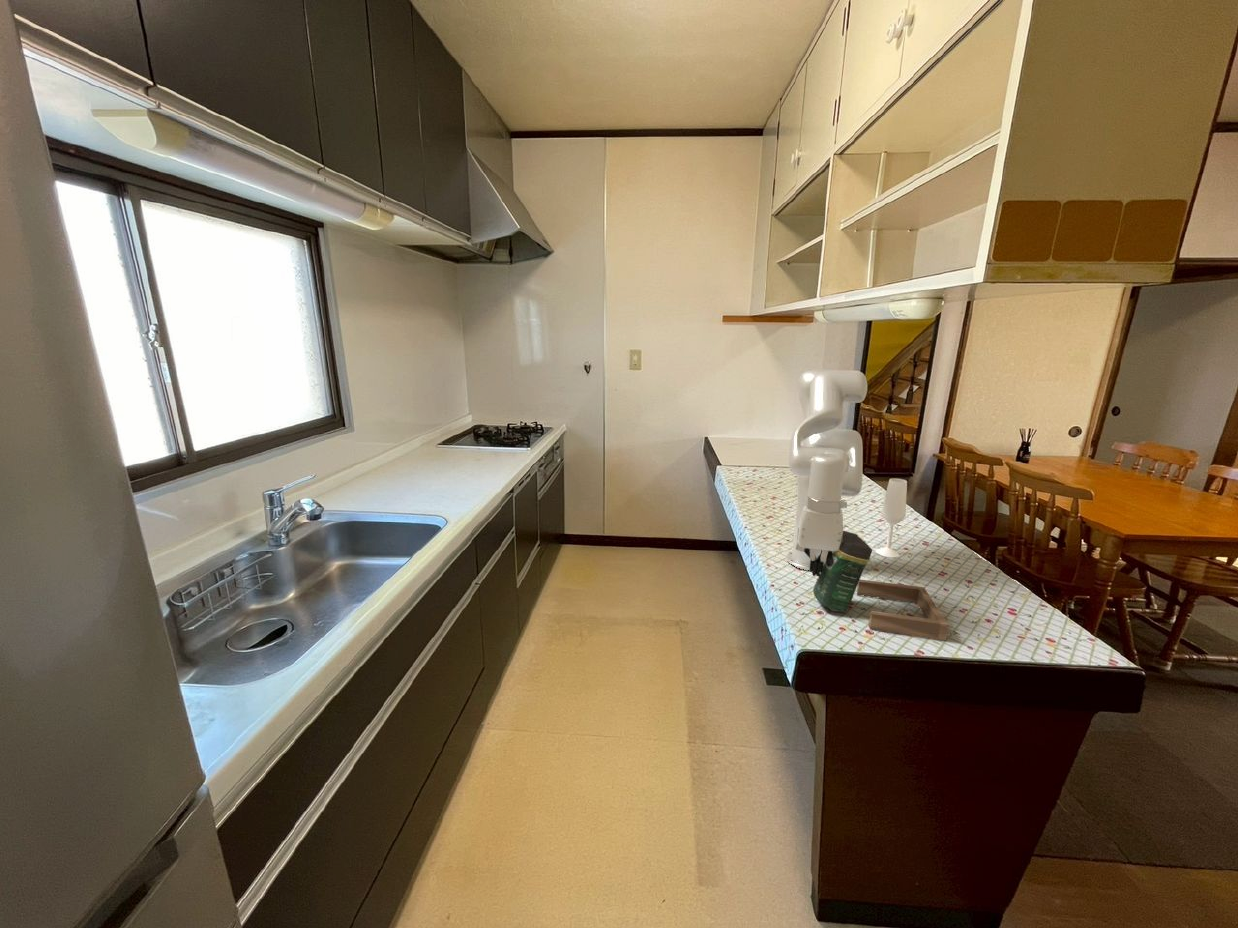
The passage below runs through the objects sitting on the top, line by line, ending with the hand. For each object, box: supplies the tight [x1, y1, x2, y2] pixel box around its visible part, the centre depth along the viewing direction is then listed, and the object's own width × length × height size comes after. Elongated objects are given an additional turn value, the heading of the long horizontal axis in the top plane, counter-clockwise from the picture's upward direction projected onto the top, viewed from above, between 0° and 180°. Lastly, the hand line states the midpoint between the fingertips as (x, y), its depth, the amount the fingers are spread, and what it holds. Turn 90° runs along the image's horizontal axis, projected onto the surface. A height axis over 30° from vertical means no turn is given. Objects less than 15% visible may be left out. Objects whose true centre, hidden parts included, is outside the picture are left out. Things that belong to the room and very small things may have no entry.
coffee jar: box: [812, 530, 873, 613], centre depth 122 cm, size 10×8×19 cm
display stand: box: [856, 578, 949, 641], centre depth 120 cm, size 18×16×4 cm
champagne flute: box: [875, 477, 908, 558], centre depth 153 cm, size 7×7×24 cm
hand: (815, 573), depth 124 cm, fingers closed
